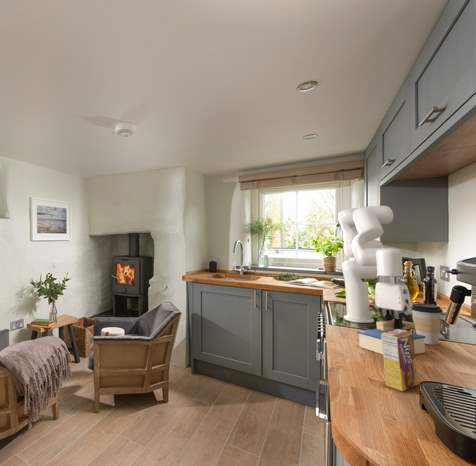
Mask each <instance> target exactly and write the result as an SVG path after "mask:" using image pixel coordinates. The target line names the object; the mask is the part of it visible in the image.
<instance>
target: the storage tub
mask: <svg viewBox="0 0 476 466" xmlns="http://www.w3.org/2000/svg"><path fill="white" fill-rule="evenodd" d="M393 330H396V329H393ZM389 331H392V330H386V331H383V330H378V329H377V328H371V329H365V330H357V334H358V344H359V348H362V349H365V350H368V351H371V352H375V353H378V354H380V355H383V349H382V338H381V334H382V333H385V332H389ZM424 338H426V336H423V335H418V334H417V333H414V332H413V341H414V350H415V355H417V354H418V355H419V354H423V353H426V346H425V345H426V344H425V343H424Z"/></svg>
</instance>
